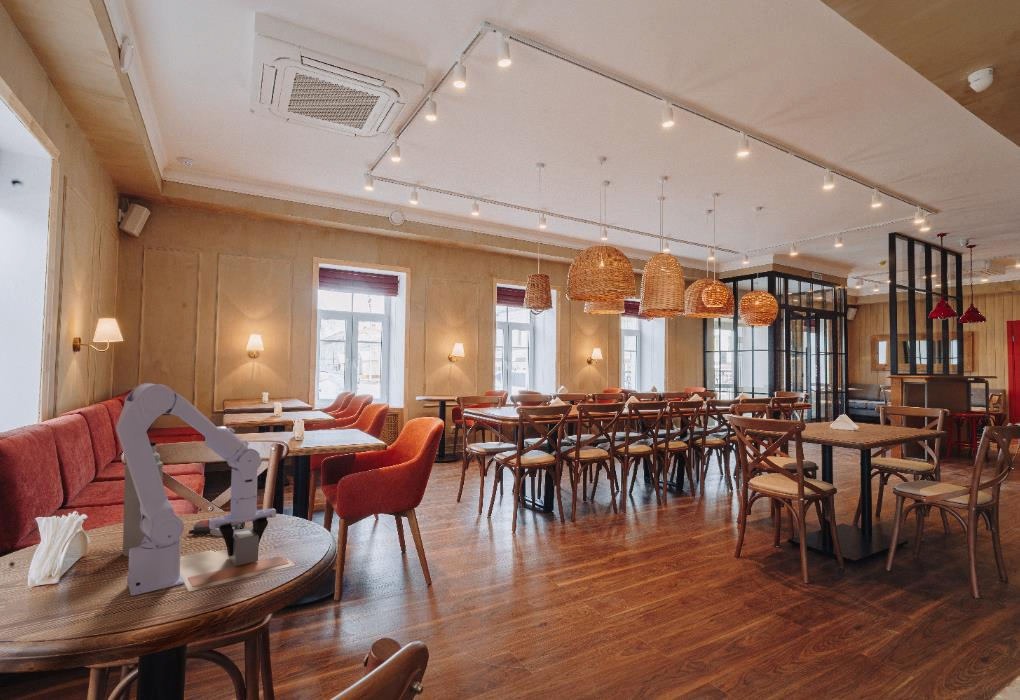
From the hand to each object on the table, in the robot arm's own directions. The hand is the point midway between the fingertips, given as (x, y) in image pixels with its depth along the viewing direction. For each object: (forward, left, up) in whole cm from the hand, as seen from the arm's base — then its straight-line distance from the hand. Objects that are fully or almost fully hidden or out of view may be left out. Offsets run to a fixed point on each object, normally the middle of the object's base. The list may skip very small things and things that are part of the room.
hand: (243, 552), depth 124 cm
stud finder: (0, 0, -2) cm, 2 cm away
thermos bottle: (-18, +24, -2) cm, 30 cm away
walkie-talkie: (+3, +27, -3) cm, 27 cm away
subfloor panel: (-2, +1, -2) cm, 3 cm away
